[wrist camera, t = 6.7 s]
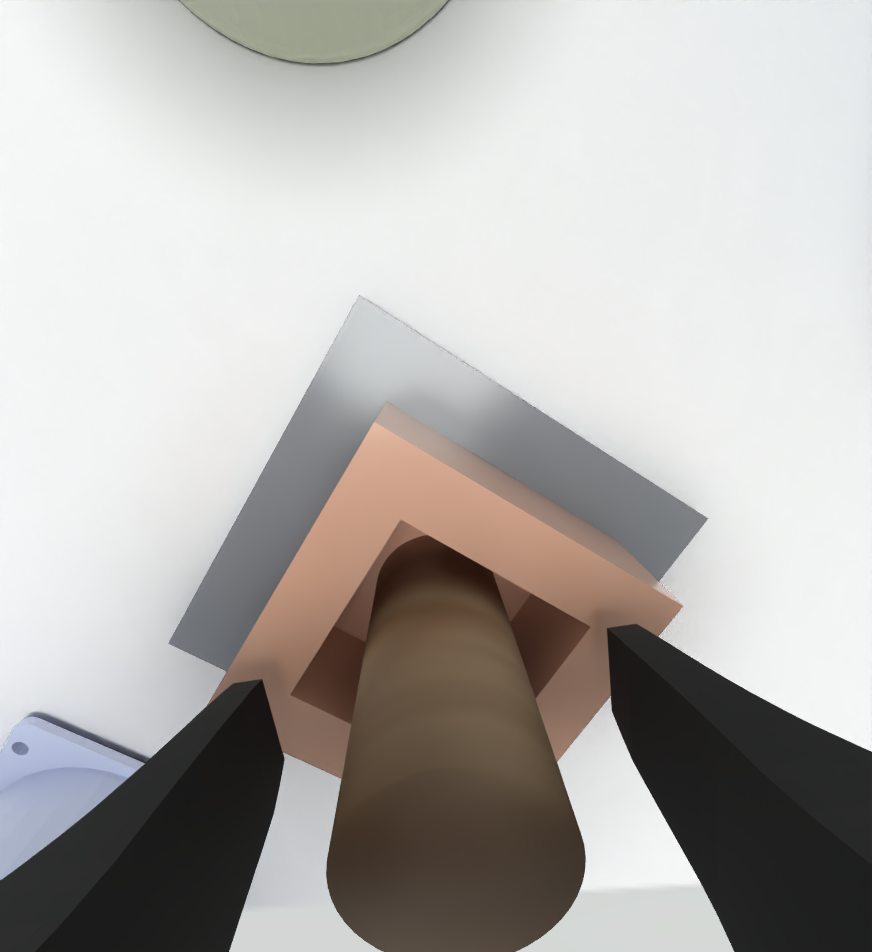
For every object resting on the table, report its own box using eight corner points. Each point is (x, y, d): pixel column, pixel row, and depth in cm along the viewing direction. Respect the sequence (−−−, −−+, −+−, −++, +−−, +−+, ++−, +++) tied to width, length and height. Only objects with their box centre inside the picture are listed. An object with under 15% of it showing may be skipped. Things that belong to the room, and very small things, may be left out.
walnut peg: (454, 661, 15) (493, 996, 7) (354, 609, 14) (280, 911, 7) (518, 571, 14) (636, 832, 7) (416, 512, 14) (412, 723, 6)
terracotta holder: (487, 781, 18) (510, 923, 13) (177, 632, 16) (85, 741, 11) (697, 512, 15) (807, 577, 11) (362, 297, 13) (333, 273, 9)
